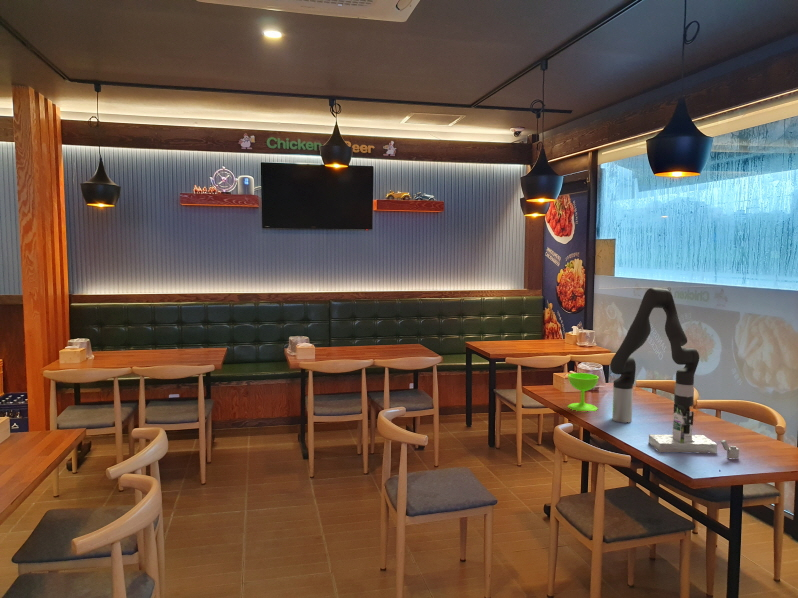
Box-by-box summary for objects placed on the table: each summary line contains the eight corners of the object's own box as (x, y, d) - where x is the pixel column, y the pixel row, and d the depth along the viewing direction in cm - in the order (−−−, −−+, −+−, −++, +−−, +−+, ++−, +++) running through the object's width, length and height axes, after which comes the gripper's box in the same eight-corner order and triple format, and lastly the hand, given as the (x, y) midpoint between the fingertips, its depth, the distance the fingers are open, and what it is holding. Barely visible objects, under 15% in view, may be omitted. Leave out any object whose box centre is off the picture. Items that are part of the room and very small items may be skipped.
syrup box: (671, 444, 251) (672, 412, 249) (681, 443, 253) (682, 411, 251) (681, 449, 245) (683, 416, 244) (692, 447, 247) (693, 415, 246)
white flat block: (648, 443, 255) (649, 434, 255) (703, 444, 254) (703, 435, 254) (659, 452, 243) (659, 443, 243) (716, 453, 242) (717, 444, 242)
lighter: (736, 457, 237) (737, 439, 237) (738, 459, 236) (739, 440, 235) (719, 458, 237) (720, 439, 236) (722, 459, 235) (723, 440, 235)
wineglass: (601, 412, 305) (602, 379, 303) (571, 412, 305) (572, 379, 304) (592, 404, 321) (593, 373, 319) (563, 404, 321) (564, 373, 320)
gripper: (668, 389, 254) (666, 425, 256) (682, 397, 240) (681, 435, 241) (685, 389, 254) (683, 425, 255) (700, 398, 240) (699, 436, 241)
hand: (682, 430), depth 248 cm, fingers closed on syrup box, 7 cm apart
